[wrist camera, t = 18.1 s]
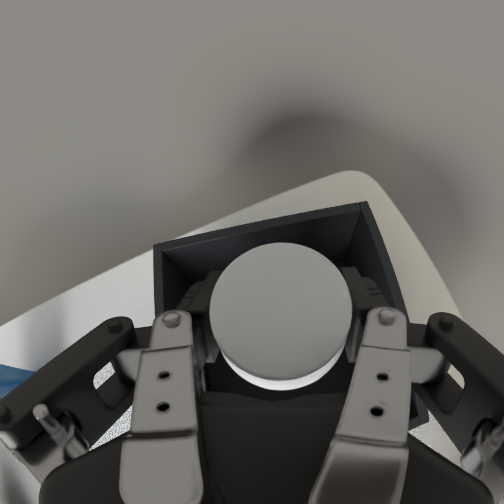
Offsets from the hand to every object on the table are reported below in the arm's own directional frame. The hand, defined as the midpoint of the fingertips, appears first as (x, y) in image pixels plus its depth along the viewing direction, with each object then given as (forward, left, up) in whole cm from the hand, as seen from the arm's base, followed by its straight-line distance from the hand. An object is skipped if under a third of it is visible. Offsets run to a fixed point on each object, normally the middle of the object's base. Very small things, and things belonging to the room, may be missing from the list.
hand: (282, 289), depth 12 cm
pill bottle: (0, -2, -4) cm, 5 cm away
